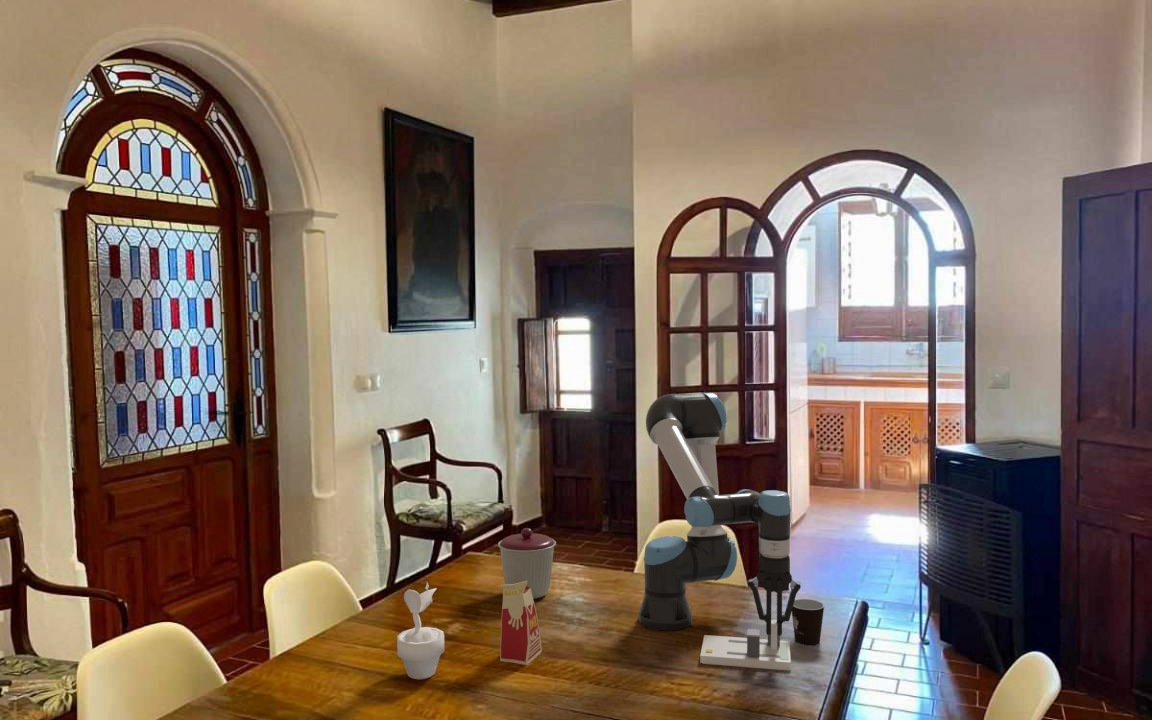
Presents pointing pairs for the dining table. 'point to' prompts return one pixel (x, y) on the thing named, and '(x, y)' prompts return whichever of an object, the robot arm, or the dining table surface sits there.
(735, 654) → the panel
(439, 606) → the dining table surface
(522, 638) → the milk carton
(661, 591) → the robot arm
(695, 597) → the dining table surface
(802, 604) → the coffee mug
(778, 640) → the block
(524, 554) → the canister
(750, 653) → the block
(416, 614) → the potted plant
